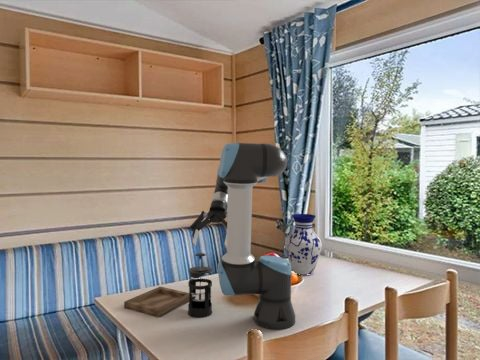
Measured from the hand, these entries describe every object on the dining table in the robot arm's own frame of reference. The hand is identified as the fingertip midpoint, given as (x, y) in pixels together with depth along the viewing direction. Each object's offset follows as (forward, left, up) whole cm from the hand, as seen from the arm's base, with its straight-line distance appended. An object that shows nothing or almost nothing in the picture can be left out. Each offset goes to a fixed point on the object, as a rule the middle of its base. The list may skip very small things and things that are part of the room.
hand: (209, 245), depth 159 cm
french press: (-3, +12, -24) cm, 27 cm away
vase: (-19, -58, -24) cm, 66 cm away
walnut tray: (+16, +13, -23) cm, 31 cm away
